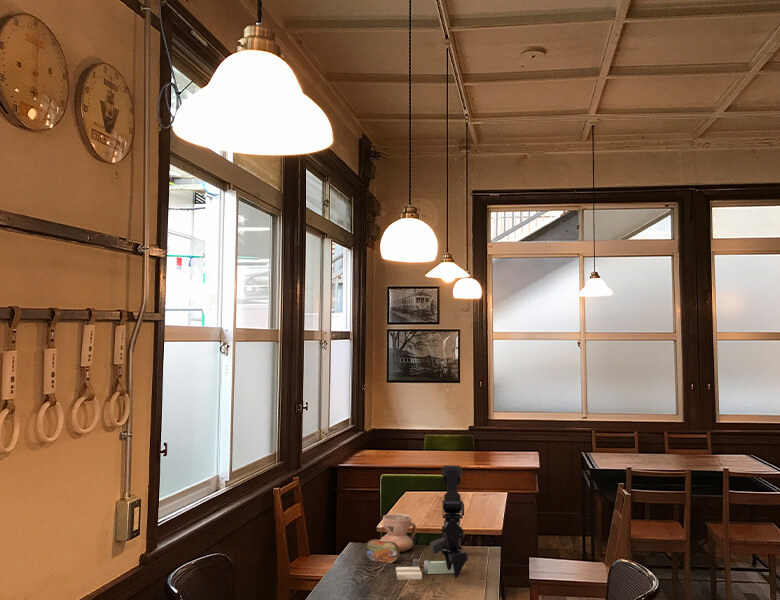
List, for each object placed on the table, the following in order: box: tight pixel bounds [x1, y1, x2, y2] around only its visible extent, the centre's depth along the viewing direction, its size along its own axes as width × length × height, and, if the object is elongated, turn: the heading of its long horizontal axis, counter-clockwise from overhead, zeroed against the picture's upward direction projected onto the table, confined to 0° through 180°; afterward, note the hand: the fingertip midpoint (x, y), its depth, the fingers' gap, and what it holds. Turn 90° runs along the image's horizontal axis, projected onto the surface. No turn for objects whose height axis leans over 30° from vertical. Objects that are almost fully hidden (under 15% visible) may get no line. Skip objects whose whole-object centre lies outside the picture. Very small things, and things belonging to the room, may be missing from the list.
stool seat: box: [395, 566, 423, 581], centre depth 269 cm, size 9×9×2 cm
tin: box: [364, 538, 400, 564], centre depth 288 cm, size 15×3×8 cm, turn 62°
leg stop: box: [412, 558, 420, 568], centre depth 279 cm, size 2×2×3 cm
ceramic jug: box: [378, 513, 417, 553], centre depth 305 cm, size 18×14×14 cm
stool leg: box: [423, 559, 454, 575], centre depth 272 cm, size 13×2×4 cm, turn 95°
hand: (452, 573), depth 264 cm, fingers open, 9 cm apart
